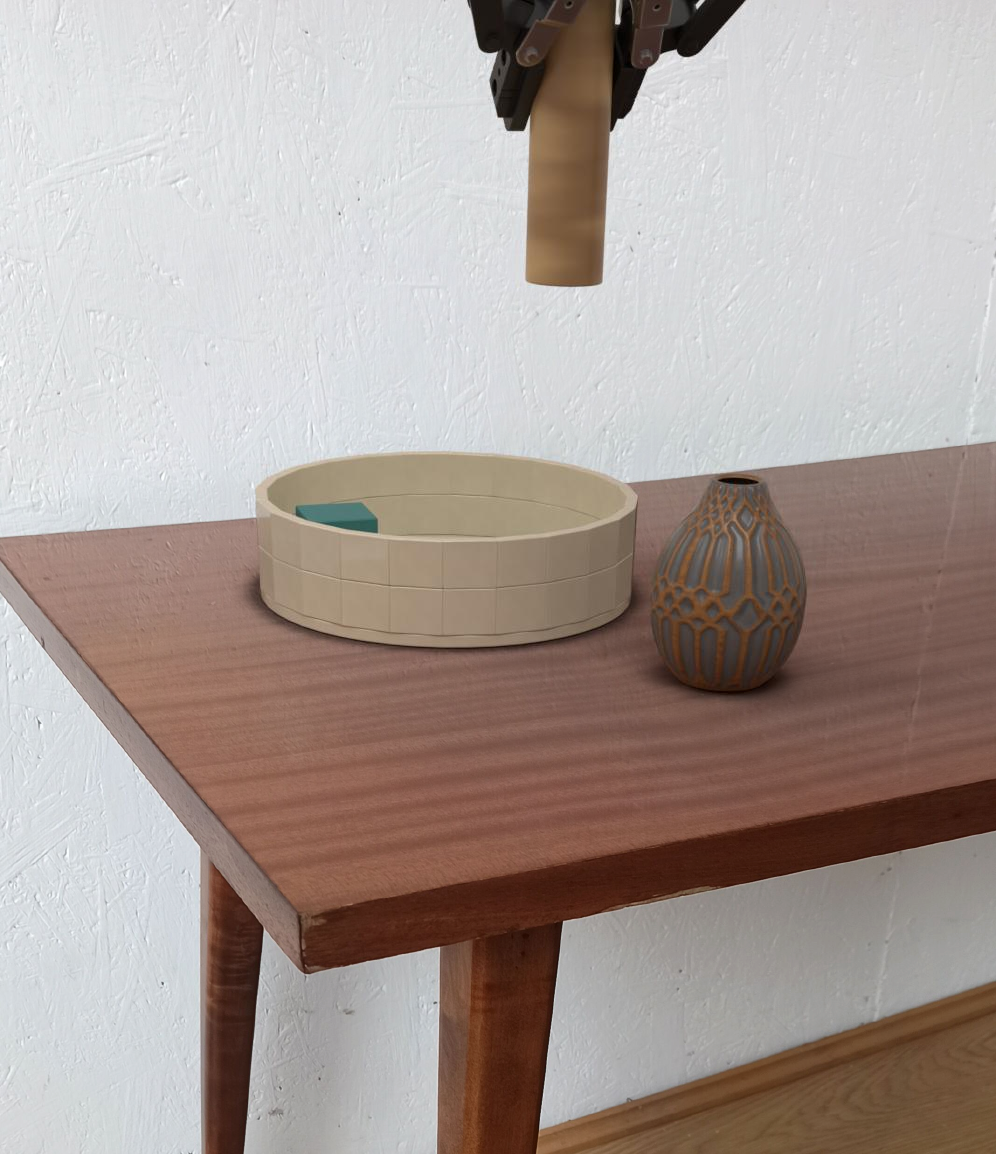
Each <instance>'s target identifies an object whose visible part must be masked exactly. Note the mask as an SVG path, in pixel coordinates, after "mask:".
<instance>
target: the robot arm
mask: <svg viewBox="0 0 996 1154" xmlns="http://www.w3.org/2000/svg"><path fill="white" fill-rule="evenodd" d="M586 1H587V0H466V3H467V5H468V8H469V9H470V13H471V17H472V22H473V27H474V33H475V39H476V43H477V46H478V49H479V50H480V51H481V52H482V53H484V54H494V53H496V56H495V59H494V63H493V66H492V70H491V72H490V76H489V80H488V82H489V87H490V92H491V96H492V100H493V105H494V108H495V112H496V117H497V118H498V119H502V121H503V124H504V128H505V130H506V132H525V130H526V128H527V125H528V122H529V120H530V113H531V108H532V105H533V102H534V100H535V98H536V95H537V92H538V89H539V86H540V83H541V80H542V77H543V74H544V71H545V68H546V67H545V63H544V57H545V55H546V54H547V52H548V50H549V48H550V47H551V45H552V43H553V42H554V40H555V38H556V36H557V35H558V33H559V31H560V30H561V28H562V27H567V28H569V27H571V26H572V24H573V23H574V21H575V19H576V18H577V16H578V14H579V13H580V11H581V9H582V7H583V6H584V4H585V2H586ZM700 1H701V0H619V2H618V10H617V13H618V18H619V23H618V24H617V23H615V41H614V61H613V81H612V101H611V121H610V133H612V132H613V131H614V130H615V127H616V124H617V122H618V120H624V119H625V118H626V117H627V116H628V115H629V114H630V112H632V109H633V106H634V105H635V101H636V99H637V97H638V94H639V91H640V90H641V87H642V85H643V82H644V79H645V77H646V74H647V73H648V70H649V68H651V67H653V66H654V65H655V64H656V63H657V62H658V61H659V59H660V56H661V55H663V54H665V53H669V52H672V51H676V53H677V54H678V56H680V57H682V58H691V57H694V56H696V55H698V54H699V53H701V51H703V49H704V48H705V47H706V46H707V45H708V44H709V43H710V42H711V40H713V38H714V37H715V36H716V35H717V34H718V33H719V32H720V31H721V29H722V28H723V27H724V26H725V25H726V24H727V22H728V21H729V20H730V19H731V18H732V17H733V16H734V14H735V13H736V12H738V10H739V9H740V8H741V7H742V5H743V4H745V2H746V1H747V0H703V2H702V3H701V4H700V5H699V6H698V7H697V4H698V3H699V2H700Z"/></svg>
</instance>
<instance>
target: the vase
mask: <svg viewBox="0 0 996 1154" xmlns="http://www.w3.org/2000/svg"><path fill="white" fill-rule="evenodd" d="M806 576H807V575H806V570H805V564H804V559H803V555H802V552H801V550H800V547H799V545H798V543H797V540H796V539H795V537H794V535H793V534H792V532H791V530H790V528H789V526H788V525H787V524H786V522H785V520H784V519H783V517H782V516H781V514H780V512H779V511H778V510H777V507H776V506H775V503H774V501H773V499H772V496H771V492H770V489H769V486H768V483H767V481H766V479H765V478H763V477H761V476H758V475H753V474H748V473H733V472H731V473H721V474H716V475H714V476H712V477H711V478H710V480H709V481H708V483H707V485H706V488H705V490H704V491H703V493H702V495H701V497H700V498H699V500H698V502H697V503H696V504H695V505H694V506H693V507H692V508H691V510H690V511H689V512H688V513H687V514H686V515H685V517H684V518H683V519H682V520H681V522H680V523H679V524H678V525H677V526H676V527H675V529H673V531H672V533H671V534H670V535H669V536H668V538H667V540H666V541H665V543H664V544H663V547H662V549H661V551H660V553H659V556H658V557H657V561H656V564H655V567H654V570H653V574H652V579H651V583H650V591H649V620H650V629H651V633H652V637H653V641H654V644H655V647H656V649H657V652H658V655H659V656H660V658H661V660H662V661H663V663H664V664H665V665H666V666H667V668H668V669H669V670H670V671H671V672H672V674H673V675H674V676H675V677H676V678H677V679H678V680H679V681H681V682H682V683H683V684H686V685H688V686H689V687H693V688H698V689H700V690H701V689H702V690H707V691H714V692H740V691H748V690H753V689H755V688H757V687H760V686H762V685H763V684H764V683H765V682H767V681H768V680H770V679H771V678H772V677H773V676H774V675H775V674H776V673H778V672H779V670H780V669H781V668H782V667H783V666H784V665H785V664H786V663H787V661H788V659H789V658H790V656H791V654H792V653H793V651H794V648H795V647H796V644H797V643H798V640H799V637H800V634H801V631H802V628H803V625H804V618H805V613H806V605H807V595H808V592H807V590H808V589H807V585H808V584H807V577H806Z"/></svg>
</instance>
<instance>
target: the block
mask: <svg viewBox="0 0 996 1154" xmlns="http://www.w3.org/2000/svg"><path fill="white" fill-rule="evenodd" d="M295 509H296V516H297V517H299V518H302V519H305V520H307V521H311V522H315V523H320V524H324V525H329V526H333V527H338V528H342V529H346V530H354V531H361V532H369V533H377V534H378V519H377V518H376V517H375V516H374V514H373V513H372V512H371V511H370V510H369V509H368V508H367V507H366V506H365V505H364V504H363V503H361V502H356V503H336V504H316V505H297V506H296V507H295Z"/></svg>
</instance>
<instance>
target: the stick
mask: <svg viewBox="0 0 996 1154" xmlns="http://www.w3.org/2000/svg"><path fill="white" fill-rule="evenodd" d="M616 18H617V0H587V1H586V2H585V4H584V6H583V7H582V9H581V11H580V13H579V14H578V16H577V18H576V19H575V21H574V23H573V24H572V26H571V27H569V28H567V27H562V28H561V30H560V31H559V33H558V35H557V36H556V38H555V40H554V42H553V43H552V45H551V47H550V48H549V50H548V52H547V54H546V55H545V57H544V63H545V67H546V68H545V71H544V74H543V77H542V80H541V83H540V86H539V89H538V92H537V95H536V98H535V100H534V102H533V105H532V108H531V113H530V116H529V132H528V133H529V135H528V171H527V203H526V205H527V206H526V207H527V208H526V237H525V238H526V240H525V270H524V271H525V272H524V279H525V282H527V283H529V284H532V285H537V286H543V287H544V286H546V287H556V288H557V287H558V288H559V287H560V288H584V287H595V286H599V285H602V284H603V278H604V259H605V258H604V257H605V240H606V235H605V234H606V219H607V200H608V199H607V197H608V181H609V180H608V177H609V162H610V161H609V160H610V159H609V158H610V139H611V138H610V137H611V132H610V121H611V101H612V81H613V61H614V41H615V24H616V21H617V20H616Z"/></svg>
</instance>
